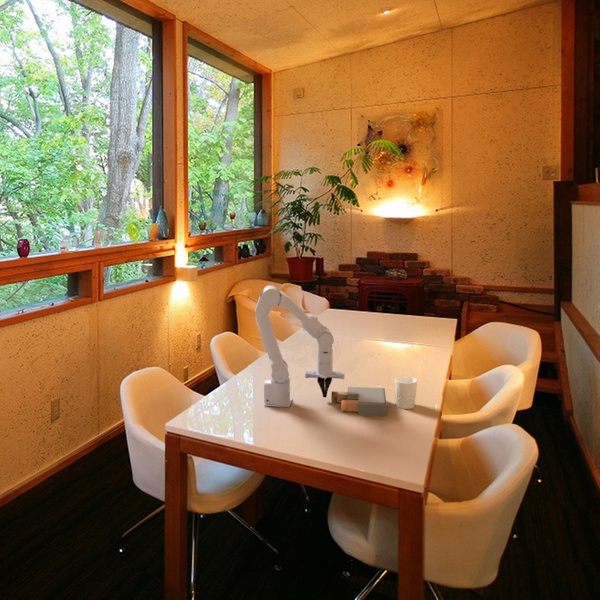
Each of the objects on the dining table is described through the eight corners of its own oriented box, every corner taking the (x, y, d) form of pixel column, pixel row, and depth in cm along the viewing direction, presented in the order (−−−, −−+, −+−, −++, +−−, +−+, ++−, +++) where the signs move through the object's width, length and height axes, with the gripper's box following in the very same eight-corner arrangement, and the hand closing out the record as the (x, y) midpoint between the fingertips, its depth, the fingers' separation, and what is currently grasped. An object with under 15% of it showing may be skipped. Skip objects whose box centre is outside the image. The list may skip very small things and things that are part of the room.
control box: (346, 414, 183) (346, 401, 182) (348, 399, 197) (348, 386, 196) (385, 416, 181) (386, 402, 180) (384, 400, 195) (384, 388, 194)
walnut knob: (331, 403, 192) (331, 393, 192) (332, 399, 196) (332, 389, 195) (361, 404, 191) (361, 394, 190) (361, 400, 195) (361, 390, 194)
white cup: (400, 411, 185) (401, 384, 183) (390, 402, 193) (391, 377, 191) (420, 408, 187) (421, 382, 185) (409, 400, 195) (410, 375, 193)
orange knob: (341, 412, 184) (341, 402, 183) (341, 408, 188) (341, 398, 187) (372, 413, 183) (372, 403, 182) (372, 409, 186) (372, 399, 186)
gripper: (304, 364, 189) (304, 399, 191) (344, 365, 187) (343, 401, 189) (306, 358, 195) (306, 392, 198) (344, 359, 194) (344, 394, 196)
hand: (324, 396), depth 194 cm, fingers closed
